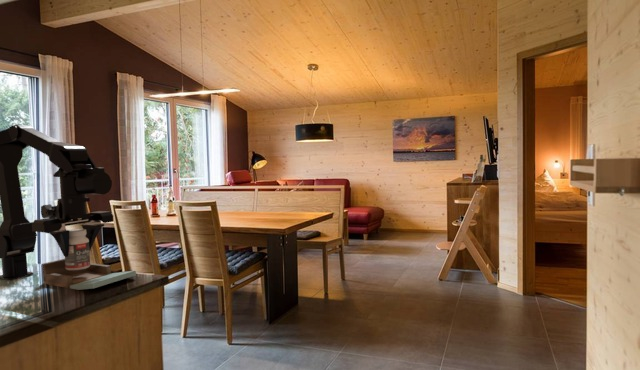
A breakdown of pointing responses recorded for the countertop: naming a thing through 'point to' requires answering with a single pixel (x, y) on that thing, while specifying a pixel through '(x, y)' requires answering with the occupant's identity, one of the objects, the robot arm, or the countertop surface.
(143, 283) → the countertop surface
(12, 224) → the robot arm
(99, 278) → the pale green rectangular panel
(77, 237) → the pill bottle
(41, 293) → the countertop surface
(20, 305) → the countertop surface
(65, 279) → the wooden open crate
